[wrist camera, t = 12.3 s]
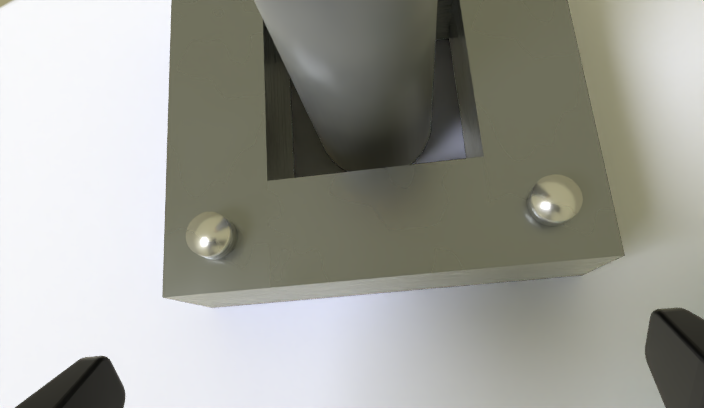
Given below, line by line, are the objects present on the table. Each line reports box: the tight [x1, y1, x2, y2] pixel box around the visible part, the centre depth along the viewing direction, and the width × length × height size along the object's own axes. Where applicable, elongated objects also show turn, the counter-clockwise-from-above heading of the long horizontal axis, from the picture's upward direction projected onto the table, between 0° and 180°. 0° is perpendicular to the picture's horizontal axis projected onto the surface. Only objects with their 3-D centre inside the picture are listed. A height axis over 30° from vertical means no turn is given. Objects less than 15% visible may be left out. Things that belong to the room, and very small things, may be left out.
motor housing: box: [163, 0, 625, 308], centre depth 16 cm, size 12×12×4 cm
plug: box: [254, 0, 437, 172], centre depth 12 cm, size 4×4×13 cm
